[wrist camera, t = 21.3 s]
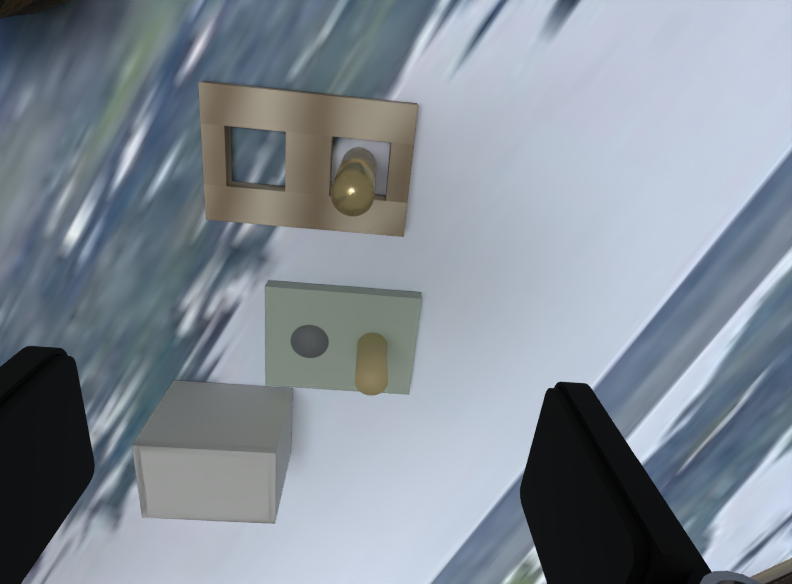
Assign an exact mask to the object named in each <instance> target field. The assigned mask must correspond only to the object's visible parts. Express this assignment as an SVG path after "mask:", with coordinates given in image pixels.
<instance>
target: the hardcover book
mask: <svg viewBox="0 0 792 584" xmlns="http://www.w3.org/2000/svg"><path fill="white" fill-rule="evenodd" d="M750 578H752V579H754V580H756V581H759V582H761V583H762V584H792V558H791V559H789V560H786V561H784V562H782V563H780V564H778V565H775V566H773V567H771V568H769V569H767V570H765V571H762V572H760V573H758V574H756V575H754V576H752V577H750Z"/></svg>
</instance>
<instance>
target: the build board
mask: <svg viewBox="0 0 792 584" xmlns="http://www.w3.org/2000/svg"><path fill="white" fill-rule="evenodd" d="M198 83H199V101H200V119H201V138H202V156H203V174H204V193H205V211H206V220H216V221H228V222H239V223H251V224H262V225H274V226H285V227H297V228H309V229H320V230H332V231H343V232H355V233H366V234H378V235H389V236H401V237H404V228H405V219H406V210H407V201H408V192H409V183H410V174H411V165H412V157H413V148H414V139H415V130H416V121H417V112H418V104H417V103H409V102H399V101H390V100H380V99H371V98H361V97H352V96H342V95H333V94H323V93H314V92H305V91H295V90H286V89H276V88H267V87H257V86H248V85H238V84H229V83H219V82H210V81H203V82H198ZM231 126H233V127H243V128H253V129H263V130H273V131H283V132H286V173H285V186H277V185H267V184H256V183H245V182H234V181H232V150H231ZM333 137H343V138H353V139H363V140H373V141H383V142H391V145H390V155H389V166H388V177H387V187H386V195H375V194H374V201H373V204H372V206H371V208H370V209H369V210H368V211H367V212H365V213H364V214H362V215H359V216H347V215H344V214H342V213H340V212H339V211H338V210H337V209H336V208H335V207H334V205H333V203H332V201H331V175H332V155H333Z"/></svg>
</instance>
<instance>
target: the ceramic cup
mask: <svg viewBox="0 0 792 584" xmlns="http://www.w3.org/2000/svg"><path fill="white" fill-rule="evenodd" d="M67 1H69V0H0V18H5V17H10V16H16V15H25V14H33V13H36V12H39V11H42V10H45V9H47V8H50V7H53V6H56V5H59V4H62V3H65V2H67Z"/></svg>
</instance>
